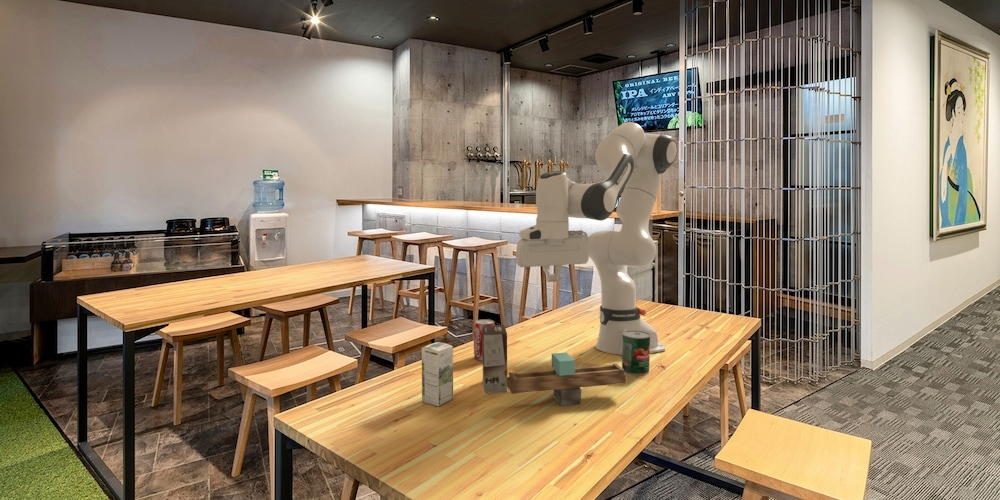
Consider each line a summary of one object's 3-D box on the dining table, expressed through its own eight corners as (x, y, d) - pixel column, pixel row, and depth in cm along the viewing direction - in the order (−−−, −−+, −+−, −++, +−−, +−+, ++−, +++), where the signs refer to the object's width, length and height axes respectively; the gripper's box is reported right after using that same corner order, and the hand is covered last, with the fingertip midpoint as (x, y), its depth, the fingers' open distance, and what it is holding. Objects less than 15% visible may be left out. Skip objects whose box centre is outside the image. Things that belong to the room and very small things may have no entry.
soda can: (493, 362, 165) (493, 324, 164) (471, 361, 167) (471, 323, 165) (498, 355, 172) (498, 319, 171) (476, 354, 174) (476, 318, 172)
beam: (615, 389, 143) (616, 362, 142) (627, 399, 136) (628, 370, 135) (506, 400, 137) (506, 371, 136) (512, 411, 130) (512, 381, 129)
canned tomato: (644, 376, 152) (645, 339, 151) (617, 372, 157) (618, 335, 155) (652, 368, 159) (653, 332, 158) (626, 364, 163) (627, 329, 162)
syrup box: (436, 394, 140) (435, 341, 139) (454, 399, 137) (453, 344, 135) (421, 402, 136) (420, 346, 134) (439, 407, 132) (438, 350, 131)
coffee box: (508, 392, 141) (507, 333, 139) (483, 393, 141) (483, 334, 139) (504, 380, 150) (504, 324, 149) (482, 381, 150) (481, 325, 148)
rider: (566, 370, 139) (566, 352, 138) (574, 379, 133) (575, 360, 132) (551, 372, 138) (551, 353, 138) (559, 380, 132) (559, 361, 131)
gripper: (583, 229, 152) (583, 277, 153) (513, 231, 147) (514, 281, 149) (592, 231, 146) (592, 281, 147) (520, 233, 141) (520, 285, 143)
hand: (552, 281), depth 148 cm, fingers closed
